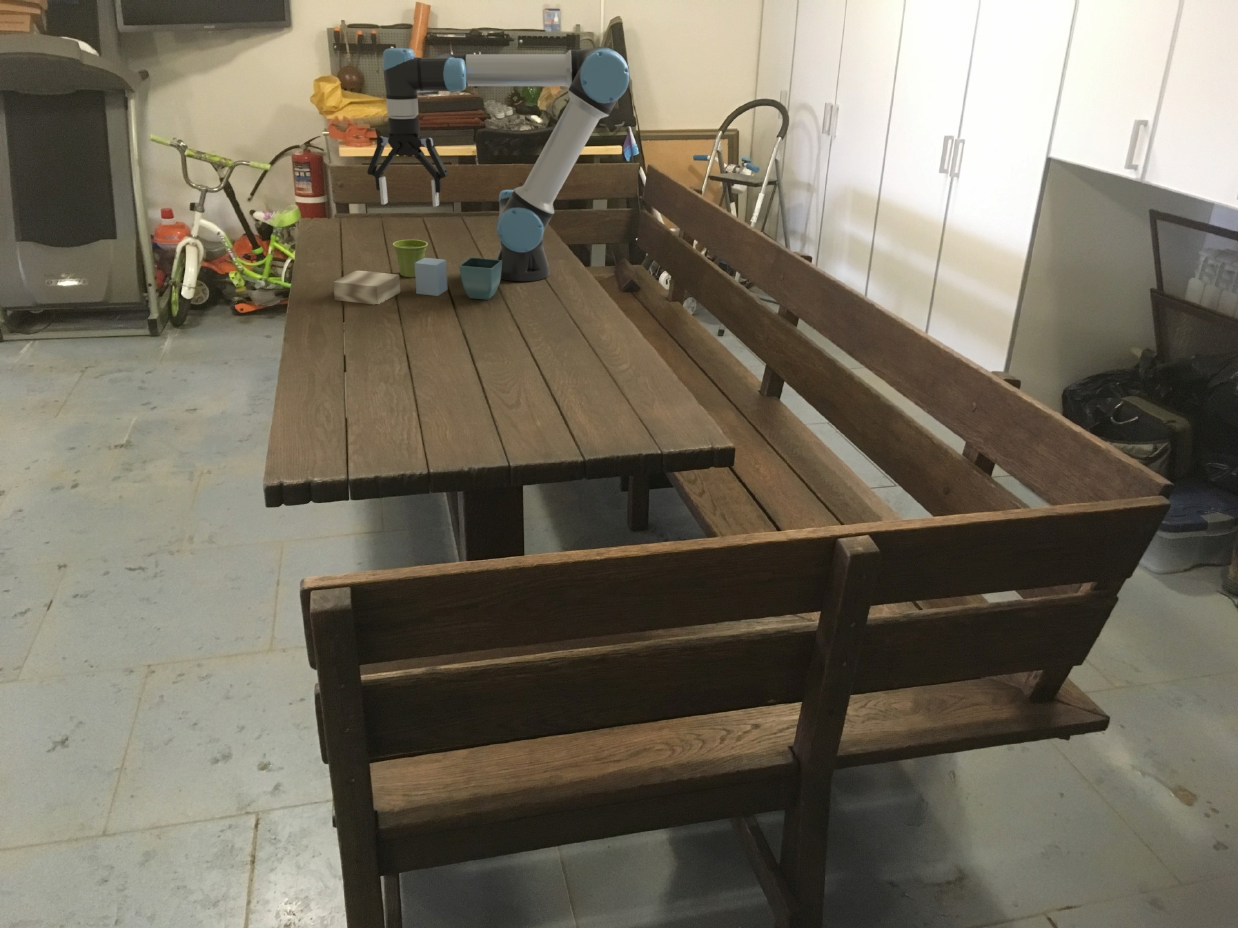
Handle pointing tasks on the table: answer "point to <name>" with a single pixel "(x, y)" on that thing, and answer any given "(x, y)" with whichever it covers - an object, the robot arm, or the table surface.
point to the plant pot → (409, 255)
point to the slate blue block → (431, 276)
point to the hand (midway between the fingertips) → (410, 204)
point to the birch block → (366, 287)
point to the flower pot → (480, 277)
